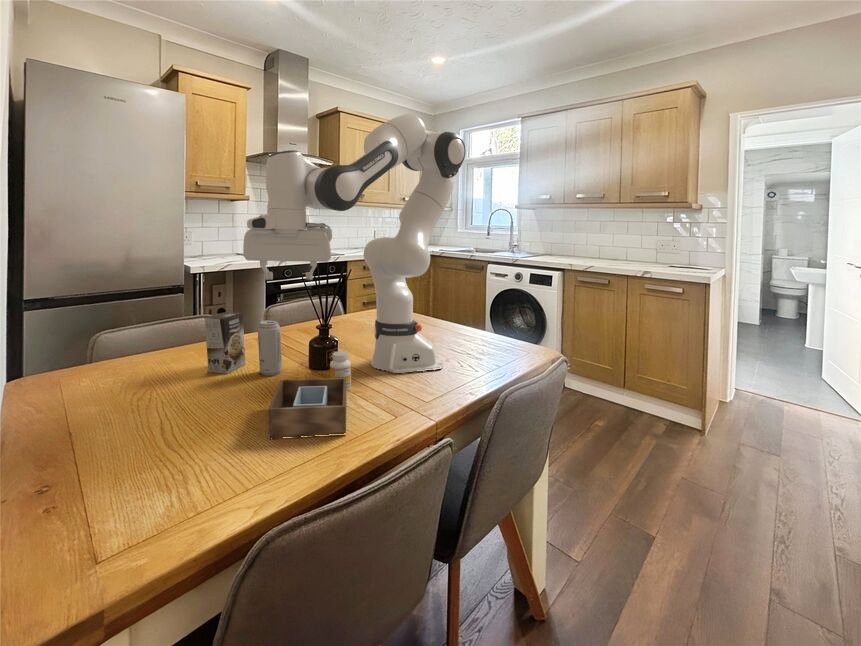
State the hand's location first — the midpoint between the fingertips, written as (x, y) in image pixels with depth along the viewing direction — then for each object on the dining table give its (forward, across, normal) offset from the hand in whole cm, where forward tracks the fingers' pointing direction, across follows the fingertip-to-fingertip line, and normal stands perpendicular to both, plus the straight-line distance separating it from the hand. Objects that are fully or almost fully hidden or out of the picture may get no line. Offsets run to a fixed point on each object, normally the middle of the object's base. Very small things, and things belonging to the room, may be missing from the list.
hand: (289, 279), depth 110 cm
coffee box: (+29, +21, -20) cm, 41 cm away
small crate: (+28, -6, +18) cm, 34 cm away
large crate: (+29, -6, +18) cm, 35 cm away
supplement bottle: (+29, -12, -1) cm, 32 cm away
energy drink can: (+29, +8, -15) cm, 34 cm away
